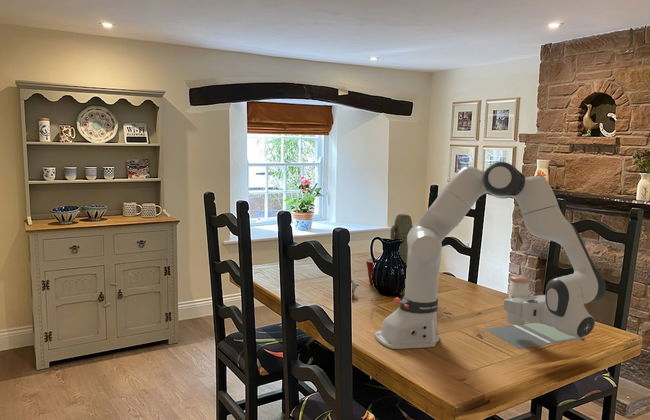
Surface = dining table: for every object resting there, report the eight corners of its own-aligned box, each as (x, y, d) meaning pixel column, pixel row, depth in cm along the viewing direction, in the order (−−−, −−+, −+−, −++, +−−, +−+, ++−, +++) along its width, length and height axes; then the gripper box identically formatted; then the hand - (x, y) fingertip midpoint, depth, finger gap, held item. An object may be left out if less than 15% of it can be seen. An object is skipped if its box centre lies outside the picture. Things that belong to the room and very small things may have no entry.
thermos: (416, 292, 231) (420, 215, 226) (396, 296, 224) (400, 217, 219) (403, 287, 238) (407, 212, 233) (383, 291, 232) (386, 214, 227)
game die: (350, 304, 223) (359, 291, 217) (332, 297, 223) (340, 283, 217) (354, 289, 230) (362, 276, 224) (336, 282, 230) (344, 268, 223)
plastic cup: (387, 281, 247) (388, 257, 245) (387, 288, 236) (388, 262, 235) (364, 280, 248) (365, 256, 246) (364, 286, 237) (364, 261, 236)
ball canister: (514, 326, 176) (519, 280, 173) (502, 319, 181) (506, 275, 179) (529, 324, 178) (533, 279, 176) (516, 318, 184) (520, 274, 181)
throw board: (518, 351, 170) (519, 348, 170) (483, 331, 186) (483, 328, 186) (584, 340, 180) (584, 337, 180) (545, 322, 197) (545, 320, 197)
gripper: (571, 298, 170) (540, 286, 182) (522, 303, 162) (493, 290, 175) (569, 316, 171) (538, 303, 183) (520, 322, 163) (492, 308, 176)
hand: (516, 297), depth 179 cm, fingers closed on ball canister, 6 cm apart
